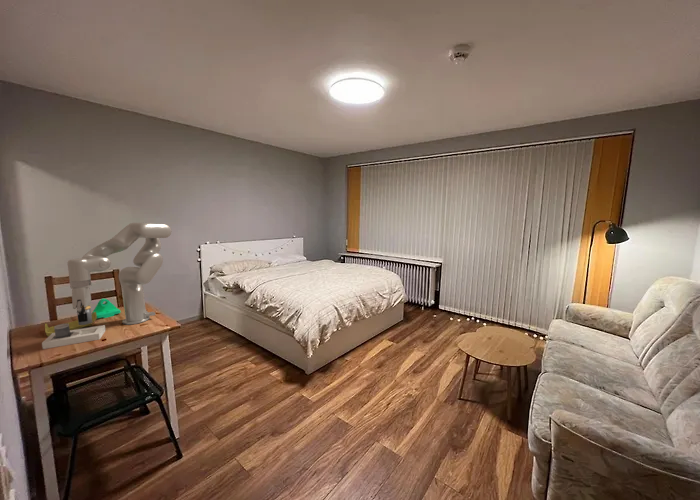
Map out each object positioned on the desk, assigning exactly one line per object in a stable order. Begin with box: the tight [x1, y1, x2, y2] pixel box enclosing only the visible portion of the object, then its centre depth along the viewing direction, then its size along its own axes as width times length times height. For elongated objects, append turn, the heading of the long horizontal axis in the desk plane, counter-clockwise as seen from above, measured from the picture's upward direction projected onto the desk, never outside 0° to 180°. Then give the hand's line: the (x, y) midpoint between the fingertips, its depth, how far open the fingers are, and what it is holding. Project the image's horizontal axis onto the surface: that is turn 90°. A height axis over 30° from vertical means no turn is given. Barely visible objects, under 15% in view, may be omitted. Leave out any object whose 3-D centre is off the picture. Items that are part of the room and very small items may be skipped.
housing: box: [41, 324, 106, 350], centre depth 140 cm, size 20×12×4 cm, turn 120°
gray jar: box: [76, 305, 93, 325], centre depth 140 cm, size 5×5×8 cm
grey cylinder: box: [54, 322, 71, 339], centre depth 137 cm, size 5×5×8 cm
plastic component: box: [44, 311, 98, 337], centre depth 152 cm, size 20×7×10 cm
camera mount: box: [91, 298, 122, 320], centre depth 172 cm, size 12×8×10 cm, turn 145°
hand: (85, 319), depth 141 cm, fingers closed on gray jar, 4 cm apart
